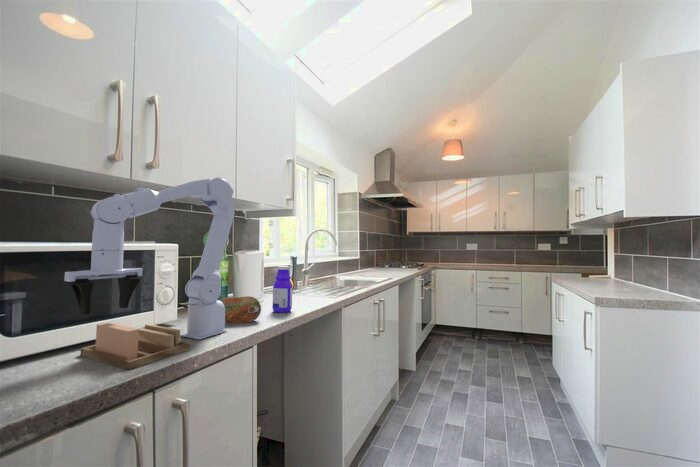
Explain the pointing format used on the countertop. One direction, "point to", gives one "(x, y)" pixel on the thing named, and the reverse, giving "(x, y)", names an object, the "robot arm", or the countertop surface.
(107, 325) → the block
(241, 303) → the tin
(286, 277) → the bottle
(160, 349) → the rack
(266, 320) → the countertop surface
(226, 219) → the robot arm
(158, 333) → the offcuts
